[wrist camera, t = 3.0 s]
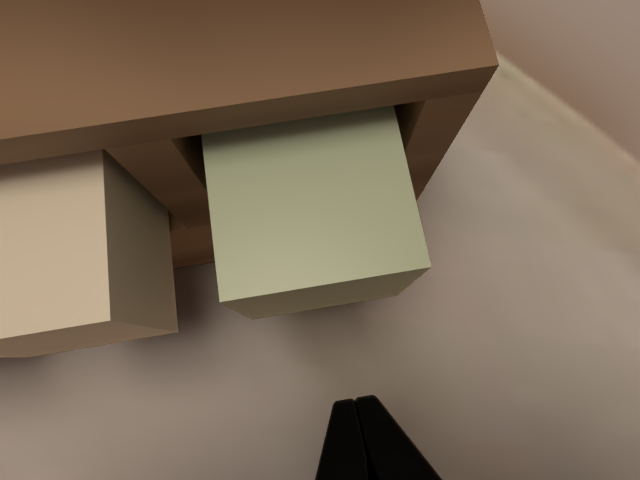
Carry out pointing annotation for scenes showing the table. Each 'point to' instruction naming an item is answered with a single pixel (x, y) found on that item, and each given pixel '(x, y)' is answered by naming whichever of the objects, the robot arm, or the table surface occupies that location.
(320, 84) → the key panel
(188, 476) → the table surface
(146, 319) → the key cream
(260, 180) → the key sage
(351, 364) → the table surface
